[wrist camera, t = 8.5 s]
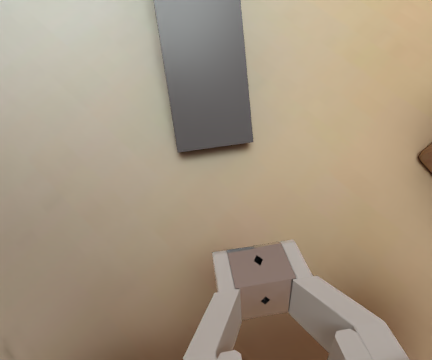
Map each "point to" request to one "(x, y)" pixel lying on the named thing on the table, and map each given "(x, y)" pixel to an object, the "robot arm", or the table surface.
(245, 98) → the domino
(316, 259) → the table surface
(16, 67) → the table surface
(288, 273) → the robot arm
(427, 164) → the wooden block
